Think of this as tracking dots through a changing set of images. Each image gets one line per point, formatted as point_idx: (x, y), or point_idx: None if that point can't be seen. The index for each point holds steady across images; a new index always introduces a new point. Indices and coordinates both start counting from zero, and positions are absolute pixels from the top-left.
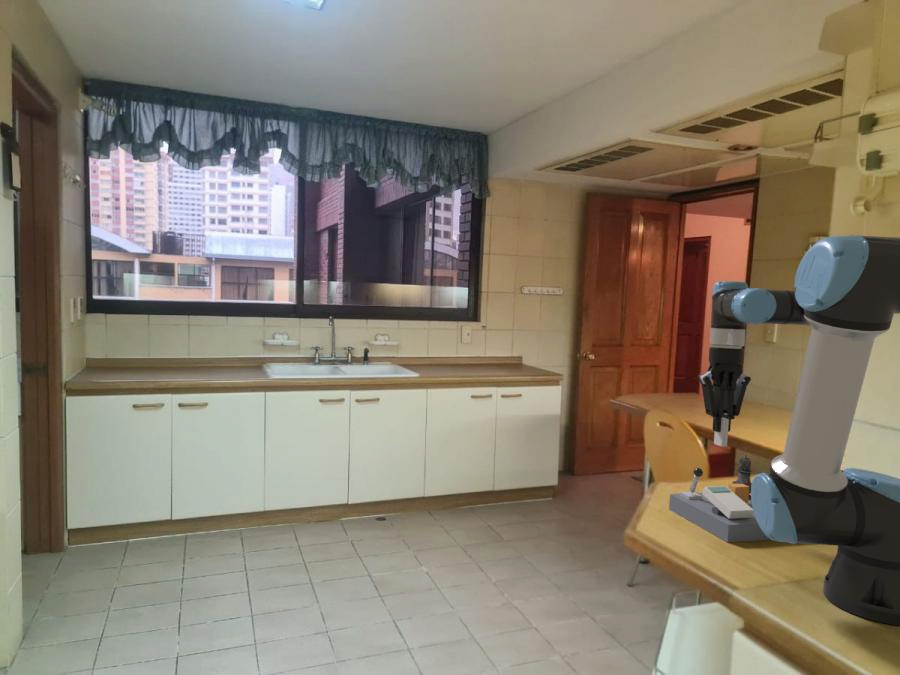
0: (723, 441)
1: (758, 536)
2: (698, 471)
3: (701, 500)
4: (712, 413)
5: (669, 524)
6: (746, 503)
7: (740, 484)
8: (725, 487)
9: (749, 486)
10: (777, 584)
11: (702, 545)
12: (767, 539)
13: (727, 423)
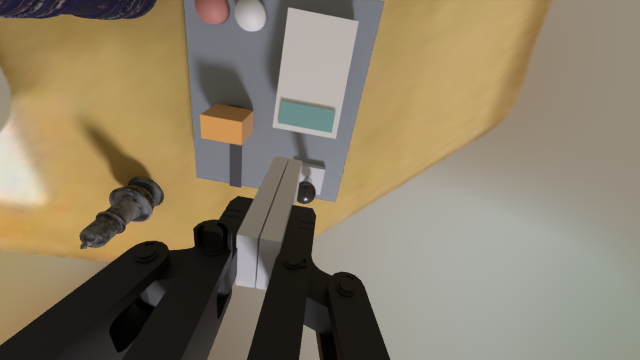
0: (290, 169)
1: None
2: (311, 188)
3: (303, 155)
4: (364, 291)
5: (402, 128)
6: None
7: (210, 135)
8: (281, 119)
9: (128, 191)
10: None
11: (445, 11)
12: None
13: (253, 217)
